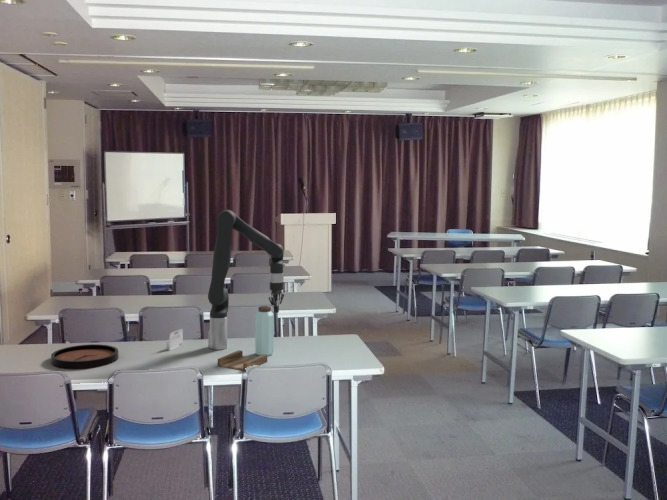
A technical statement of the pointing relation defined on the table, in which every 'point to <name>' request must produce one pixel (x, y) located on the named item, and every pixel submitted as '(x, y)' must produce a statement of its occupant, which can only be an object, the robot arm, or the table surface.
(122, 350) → the table surface
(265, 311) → the water bottle
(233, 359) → the cradle
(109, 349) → the wall clock
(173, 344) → the ink cartridge box
